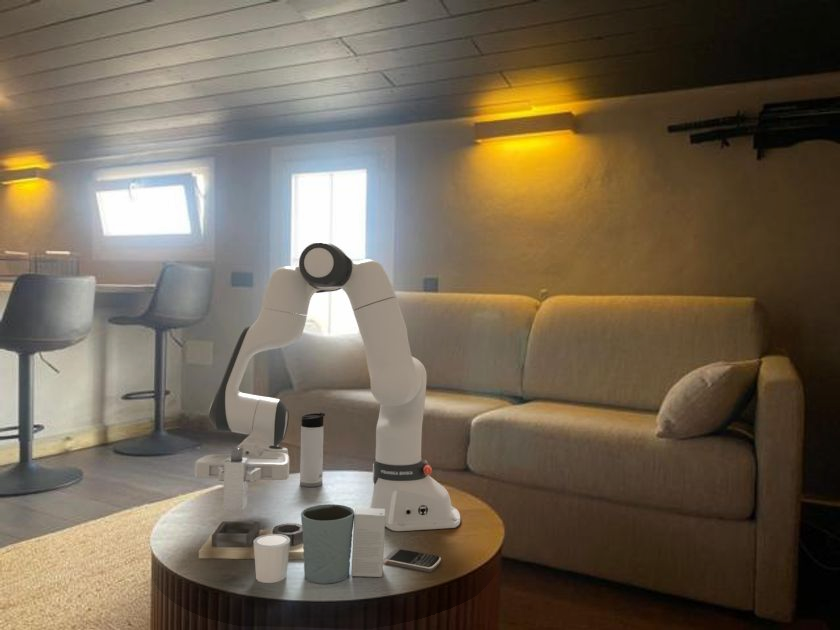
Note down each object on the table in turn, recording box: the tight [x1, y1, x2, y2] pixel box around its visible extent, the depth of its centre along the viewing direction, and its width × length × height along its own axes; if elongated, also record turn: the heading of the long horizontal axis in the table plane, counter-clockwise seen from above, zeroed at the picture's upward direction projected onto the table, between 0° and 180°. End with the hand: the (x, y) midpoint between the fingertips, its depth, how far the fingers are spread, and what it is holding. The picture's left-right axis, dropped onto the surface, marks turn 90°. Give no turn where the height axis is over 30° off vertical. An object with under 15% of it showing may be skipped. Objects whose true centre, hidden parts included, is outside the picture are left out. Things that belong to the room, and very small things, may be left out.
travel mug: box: [299, 412, 326, 488], centre depth 181 cm, size 6×7×20 cm
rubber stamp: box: [222, 446, 249, 511], centre depth 135 cm, size 4×4×12 cm
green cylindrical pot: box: [300, 503, 355, 585], centre depth 123 cm, size 10×10×12 cm
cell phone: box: [383, 548, 442, 573], centre depth 130 cm, size 6×11×1 cm, turn 68°
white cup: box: [254, 534, 290, 584], centre depth 122 cm, size 7×7×7 cm
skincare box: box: [350, 507, 386, 578], centre depth 124 cm, size 6×4×12 cm
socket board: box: [198, 520, 304, 560], centre depth 135 cm, size 22×12×4 cm, turn 92°
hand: (235, 477), depth 134 cm, fingers closed on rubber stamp, 4 cm apart
